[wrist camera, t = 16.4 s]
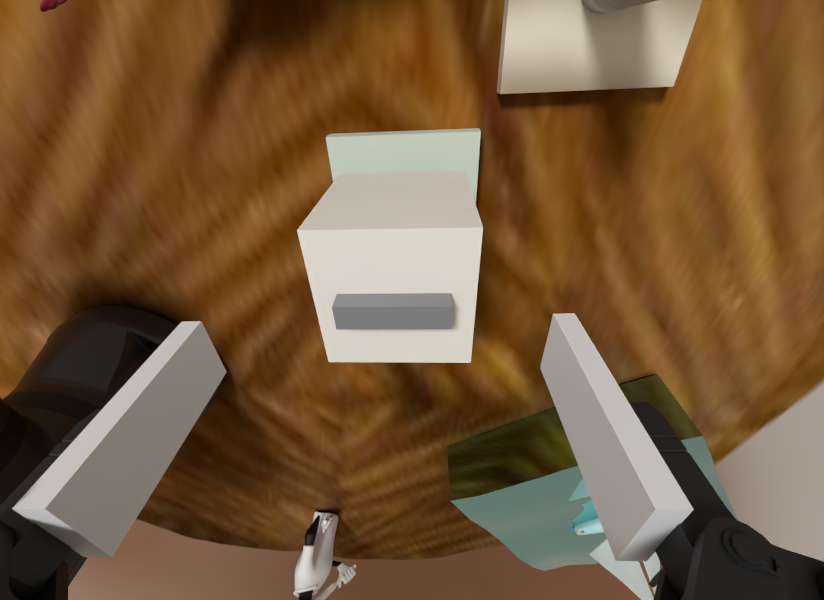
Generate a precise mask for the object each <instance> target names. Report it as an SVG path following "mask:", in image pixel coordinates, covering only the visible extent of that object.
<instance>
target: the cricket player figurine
mask: <svg viewBox="0 0 824 600" xmlns="http://www.w3.org/2000/svg"><path fill="white" fill-rule="evenodd" d="M337 523H338V516H337V515H336V514H332V513H321V512H317V511H315V513H314V518H313V523H312V524H311V526H310V527H309V529H308V530H307V532H306V534H305V545H304V546H303V552H302V554H301V556H300V558H299V560H298V562H297V565H296V569H295V591H294V593H293V594H294V595H295V596H297V597H299V599H300V600H311V599H312V596H313V595H314V594H316V593H317V592H318V590H319V588H320V587H321V586H322V585H323V583H324V582H325V580H326V578H327V577H328V575H329V572H330V570H331V566H337V569H338V571H339V577H338V580H337V581H336V582H335V583H332V584H331V585H330V586H329V587H328V588H327V589H326V590H325V591H324V592H323V593H322V594H321V595H319V597H317V598H316V599H315V600H325V599H326V598H327V597H328V596H329V595H330V594H331V593H332V592H333V591H334V590H335V588H336V586H337V585H338V587H339V588H340V587H341V581H343V582H344V584H346V583H347V581H350V579H352V578H353V576H355V574H356V573H355V571H354V568H356V565H355V564H354V565H353V566H352V567H349V566H348V565H345V564H344V563H343V562H337V561H333V544H334V537H335V532H336V528H337Z"/></svg>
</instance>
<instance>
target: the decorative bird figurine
mask: <svg viewBox="0 0 824 600" xmlns="http://www.w3.org/2000/svg"><path fill="white" fill-rule="evenodd" d="M66 1H67V0H42V2H41V5H40V9H41V11H43V12H45V11H48V10H51V9H55V8H56V7H57V6H59V5H61V4H63V3H65V2H66Z"/></svg>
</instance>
